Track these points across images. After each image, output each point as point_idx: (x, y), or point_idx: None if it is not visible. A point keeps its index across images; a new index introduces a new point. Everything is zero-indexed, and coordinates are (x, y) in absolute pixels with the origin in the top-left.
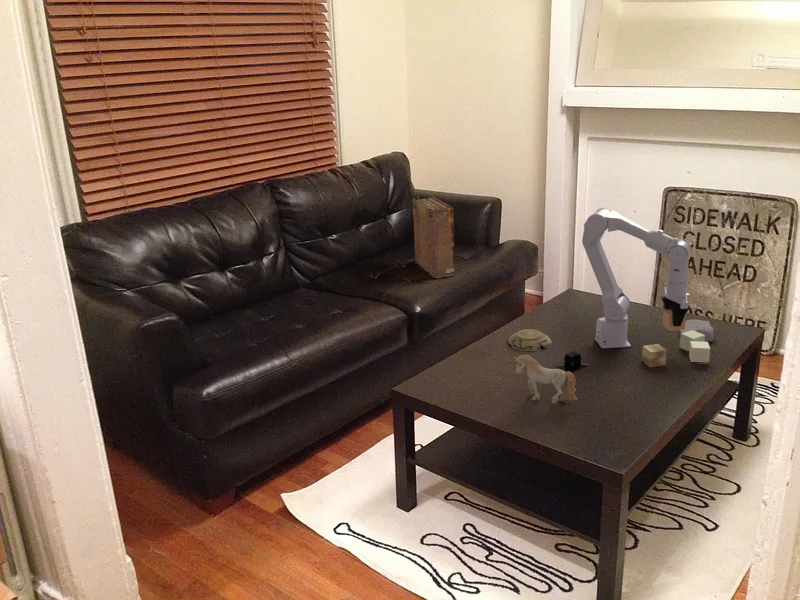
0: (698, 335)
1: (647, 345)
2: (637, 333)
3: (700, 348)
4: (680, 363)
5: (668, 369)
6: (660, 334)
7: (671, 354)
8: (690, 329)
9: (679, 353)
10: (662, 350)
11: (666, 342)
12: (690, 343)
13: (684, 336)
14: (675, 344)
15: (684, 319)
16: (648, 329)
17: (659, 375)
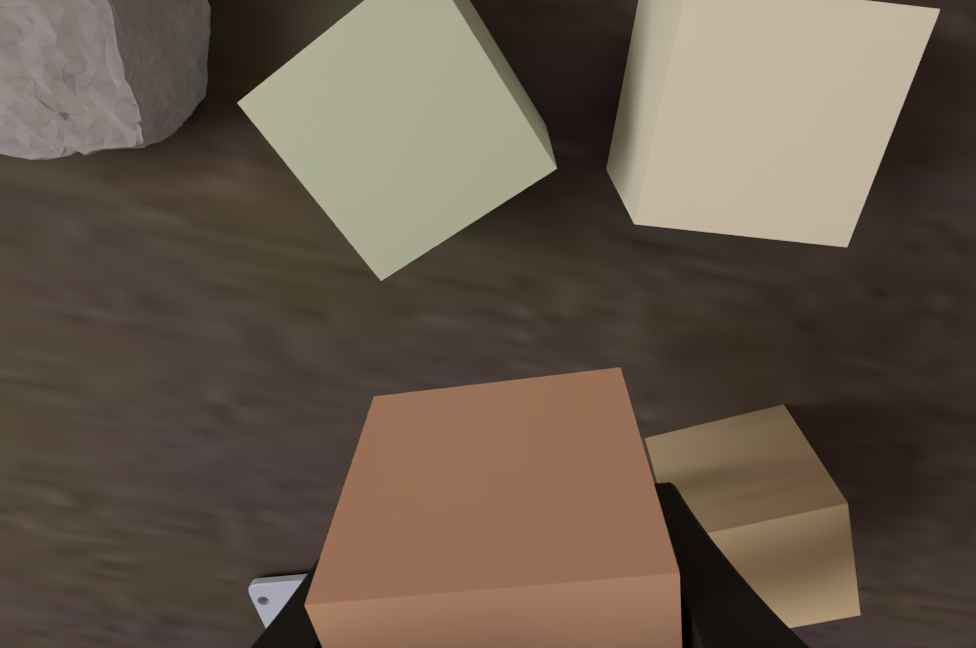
0: (438, 65)
1: None
2: (137, 481)
3: (881, 146)
4: (773, 285)
5: (871, 398)
6: (105, 320)
7: (569, 318)
8: (59, 64)
9: (548, 246)
10: (845, 534)
11: (292, 306)
12: (662, 221)
13: (432, 240)
14: (329, 237)
15: (659, 508)
16: (14, 393)
17: (959, 474)
